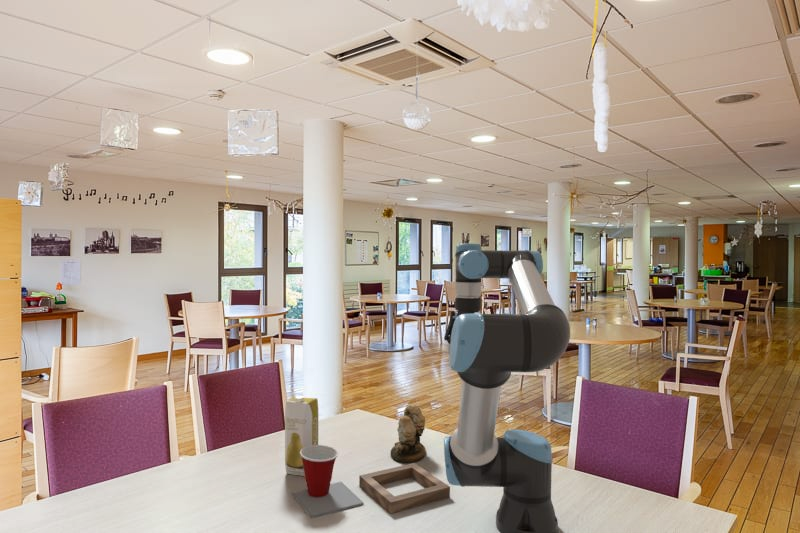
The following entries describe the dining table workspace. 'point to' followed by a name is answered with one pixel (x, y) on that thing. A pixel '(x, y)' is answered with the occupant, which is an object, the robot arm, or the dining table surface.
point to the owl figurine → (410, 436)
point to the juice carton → (299, 431)
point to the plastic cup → (318, 468)
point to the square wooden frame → (408, 500)
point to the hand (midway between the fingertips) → (467, 369)
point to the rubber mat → (328, 500)
